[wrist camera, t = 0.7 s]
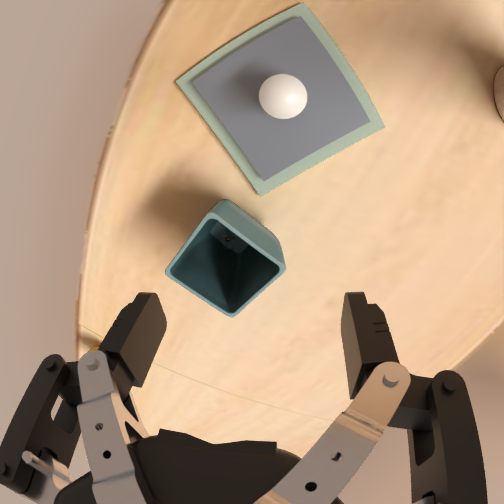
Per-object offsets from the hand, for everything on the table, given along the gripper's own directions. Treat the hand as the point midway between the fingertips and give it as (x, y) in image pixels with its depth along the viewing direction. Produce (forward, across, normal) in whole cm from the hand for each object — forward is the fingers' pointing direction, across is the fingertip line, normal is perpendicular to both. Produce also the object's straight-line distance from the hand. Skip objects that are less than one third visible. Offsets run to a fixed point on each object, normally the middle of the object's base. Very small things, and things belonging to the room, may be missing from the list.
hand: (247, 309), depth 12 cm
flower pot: (+22, +5, +7) cm, 24 cm away
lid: (+21, -2, -8) cm, 23 cm away
